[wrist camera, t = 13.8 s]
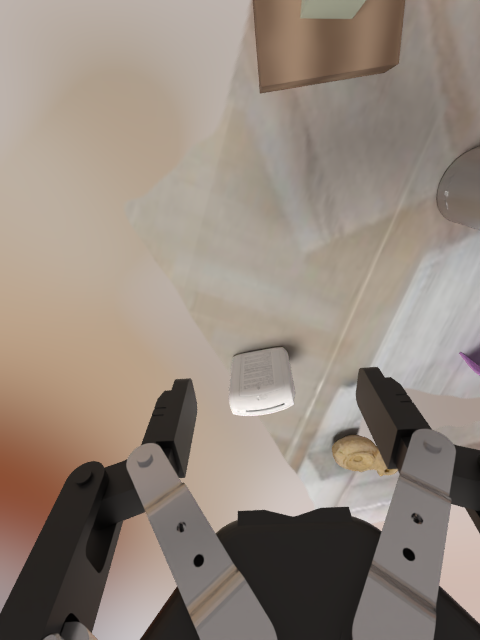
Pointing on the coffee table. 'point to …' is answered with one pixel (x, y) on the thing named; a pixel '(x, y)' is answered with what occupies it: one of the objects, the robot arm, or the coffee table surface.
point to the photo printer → (261, 382)
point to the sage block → (330, 9)
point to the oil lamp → (359, 455)
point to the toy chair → (471, 363)
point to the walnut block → (324, 43)
